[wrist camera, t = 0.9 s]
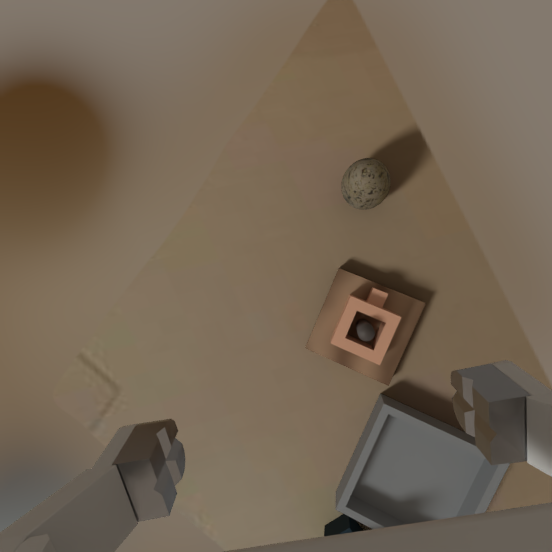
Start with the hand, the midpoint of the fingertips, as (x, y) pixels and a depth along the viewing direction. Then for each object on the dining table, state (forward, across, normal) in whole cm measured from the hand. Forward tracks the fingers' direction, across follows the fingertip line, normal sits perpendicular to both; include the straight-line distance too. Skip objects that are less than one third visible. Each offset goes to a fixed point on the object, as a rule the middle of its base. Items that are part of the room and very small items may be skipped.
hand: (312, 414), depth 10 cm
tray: (+30, +11, -34) cm, 46 cm away
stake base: (+35, +8, -14) cm, 39 cm away
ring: (+33, +8, -13) cm, 37 cm away
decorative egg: (+39, +12, +4) cm, 41 cm away
